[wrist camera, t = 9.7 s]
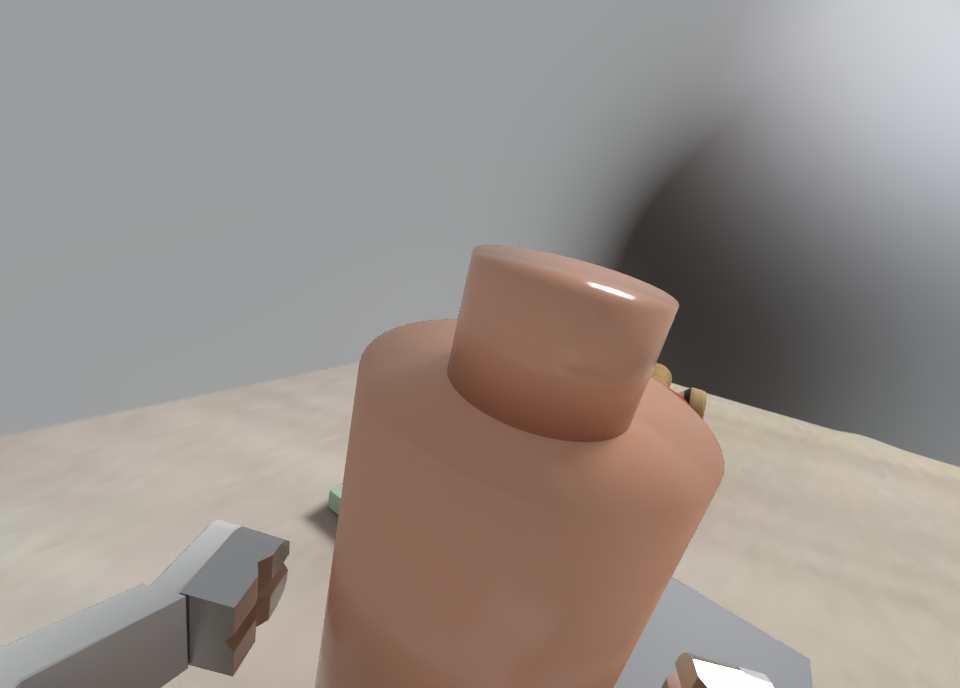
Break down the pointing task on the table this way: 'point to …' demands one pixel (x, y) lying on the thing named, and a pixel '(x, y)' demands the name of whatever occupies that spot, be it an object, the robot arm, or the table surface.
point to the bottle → (514, 485)
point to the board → (697, 639)
